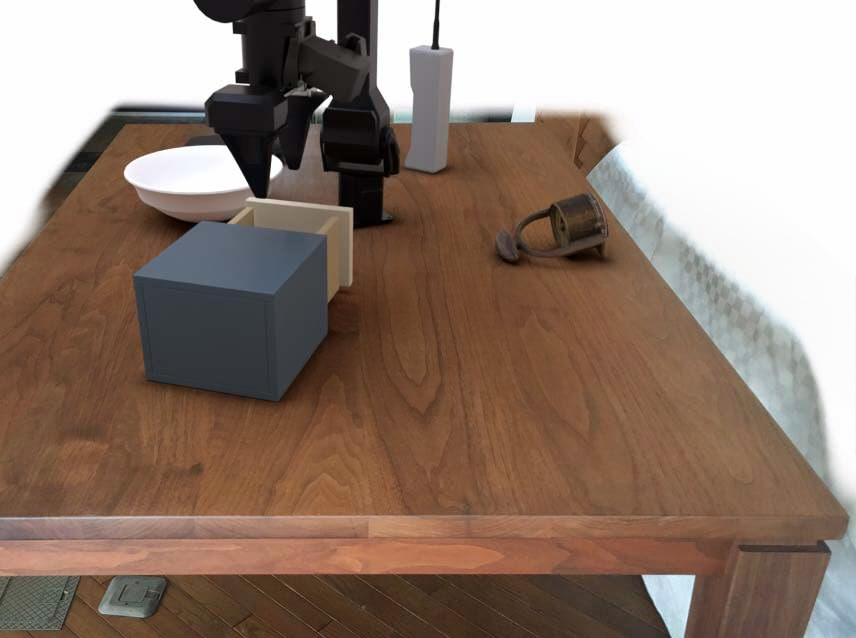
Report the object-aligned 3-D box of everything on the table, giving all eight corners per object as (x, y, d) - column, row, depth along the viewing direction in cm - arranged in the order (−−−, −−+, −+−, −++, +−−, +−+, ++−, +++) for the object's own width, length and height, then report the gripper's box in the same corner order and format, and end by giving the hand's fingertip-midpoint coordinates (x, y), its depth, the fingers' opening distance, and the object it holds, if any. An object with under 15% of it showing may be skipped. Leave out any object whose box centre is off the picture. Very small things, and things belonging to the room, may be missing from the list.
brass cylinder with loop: (621, 230, 96) (620, 182, 103) (501, 212, 98) (508, 165, 105) (603, 284, 101) (604, 235, 108) (490, 266, 103) (497, 218, 110)
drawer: (266, 257, 102) (263, 185, 98) (363, 269, 99) (364, 195, 95) (205, 318, 89) (198, 238, 84) (314, 334, 86) (313, 252, 81)
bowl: (147, 190, 125) (142, 144, 122) (290, 191, 124) (288, 145, 121) (113, 243, 108) (106, 191, 105) (278, 244, 107) (276, 192, 104)
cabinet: (209, 315, 91) (202, 220, 86) (328, 333, 88) (327, 234, 83) (145, 379, 80) (132, 274, 75) (278, 402, 77) (273, 294, 72)
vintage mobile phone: (417, 162, 136) (426, -20, 123) (446, 168, 133) (458, -18, 120) (404, 168, 133) (411, -18, 120) (433, 174, 131) (444, -15, 118)
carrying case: (191, 174, 131) (290, 167, 134) (189, 153, 129) (290, 146, 132) (183, 154, 140) (277, 147, 143) (182, 134, 138) (276, 128, 141)
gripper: (330, 27, 68) (330, 224, 76) (388, -4, 84) (384, 163, 92) (195, 20, 71) (209, 211, 79) (275, -9, 86) (281, 154, 94)
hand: (278, 183), depth 86 cm, fingers open, 9 cm apart
